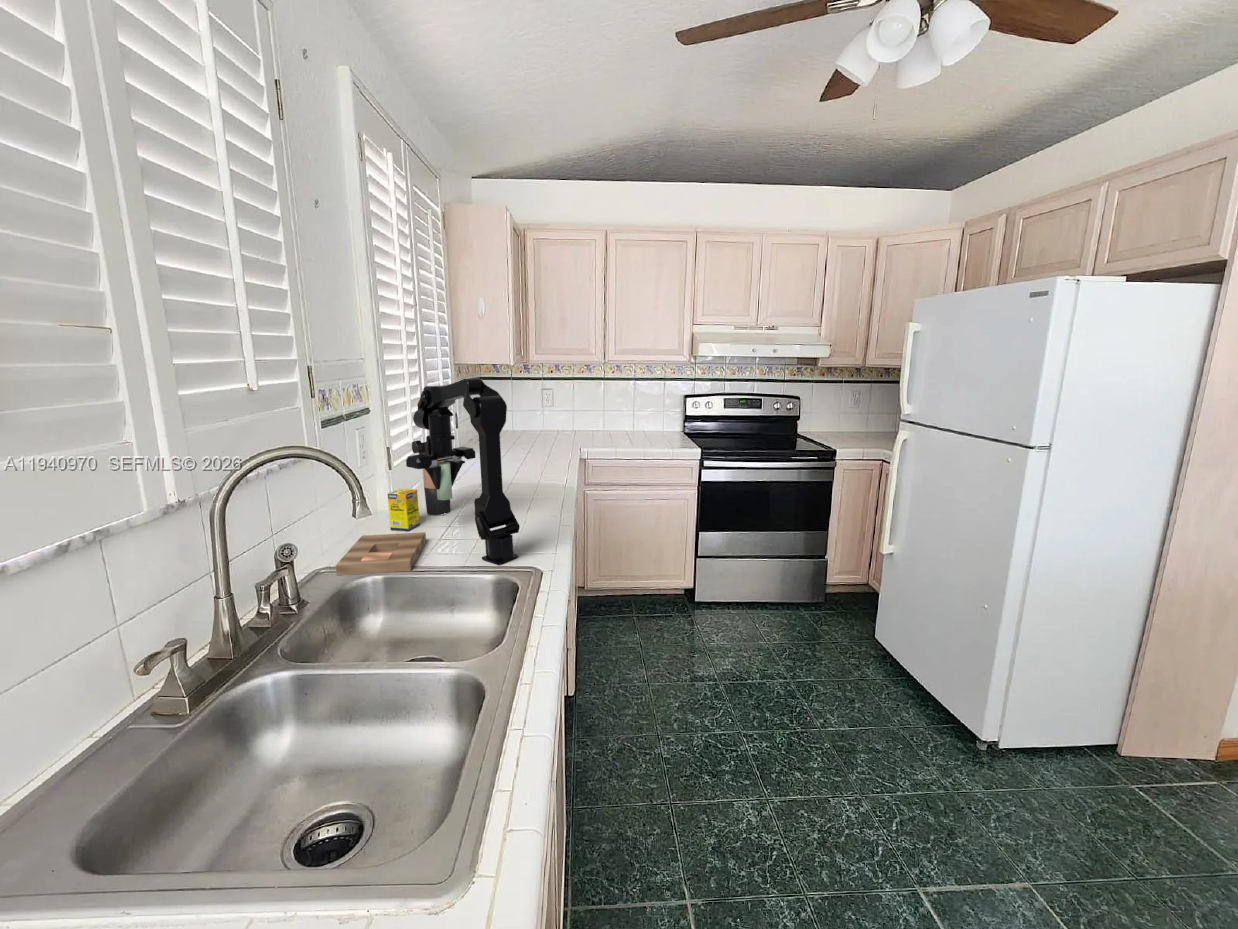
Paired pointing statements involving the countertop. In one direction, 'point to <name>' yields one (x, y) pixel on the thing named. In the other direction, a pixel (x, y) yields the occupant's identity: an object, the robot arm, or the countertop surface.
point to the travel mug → (434, 497)
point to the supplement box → (403, 509)
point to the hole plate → (382, 554)
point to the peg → (445, 482)
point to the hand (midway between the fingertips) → (444, 487)
